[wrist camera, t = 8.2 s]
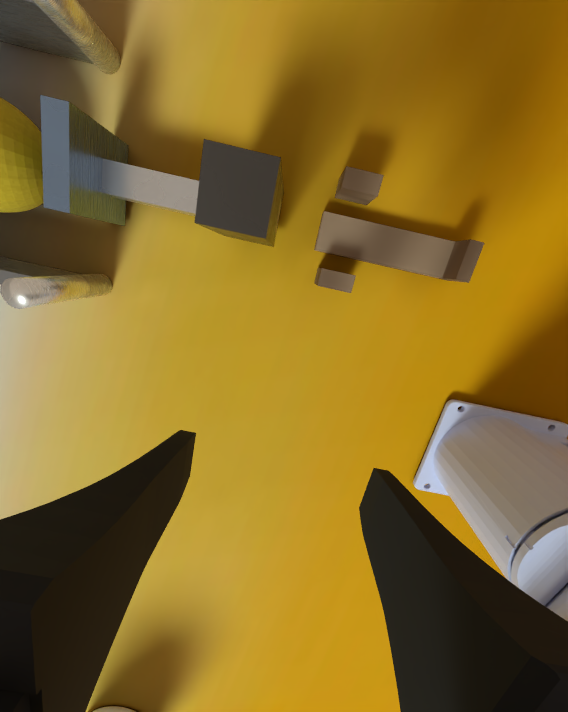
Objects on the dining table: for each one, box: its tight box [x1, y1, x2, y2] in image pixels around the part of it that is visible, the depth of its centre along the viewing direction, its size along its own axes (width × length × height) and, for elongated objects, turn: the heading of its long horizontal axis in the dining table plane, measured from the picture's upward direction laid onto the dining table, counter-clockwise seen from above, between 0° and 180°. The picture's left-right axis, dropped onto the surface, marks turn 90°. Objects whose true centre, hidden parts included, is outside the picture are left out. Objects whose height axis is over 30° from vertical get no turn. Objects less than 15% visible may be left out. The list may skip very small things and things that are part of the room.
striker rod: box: [40, 95, 284, 247], centre depth 15 cm, size 11×4×7 cm, turn 78°
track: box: [314, 166, 484, 293], centre depth 18 cm, size 9×6×2 cm
